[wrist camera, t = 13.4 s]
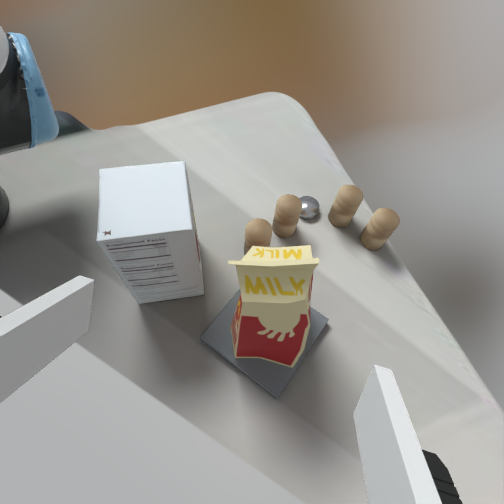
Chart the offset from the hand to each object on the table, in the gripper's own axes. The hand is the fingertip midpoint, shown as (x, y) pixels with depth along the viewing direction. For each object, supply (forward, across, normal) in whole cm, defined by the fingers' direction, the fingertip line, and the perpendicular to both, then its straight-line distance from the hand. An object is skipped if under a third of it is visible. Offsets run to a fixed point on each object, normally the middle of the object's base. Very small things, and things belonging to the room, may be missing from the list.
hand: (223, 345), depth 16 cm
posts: (+38, +6, -4) cm, 39 cm away
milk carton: (+27, +2, -14) cm, 30 cm away
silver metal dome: (+43, +4, 0) cm, 43 cm away
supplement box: (+31, -13, -11) cm, 36 cm away
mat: (+28, +2, -14) cm, 31 cm away
